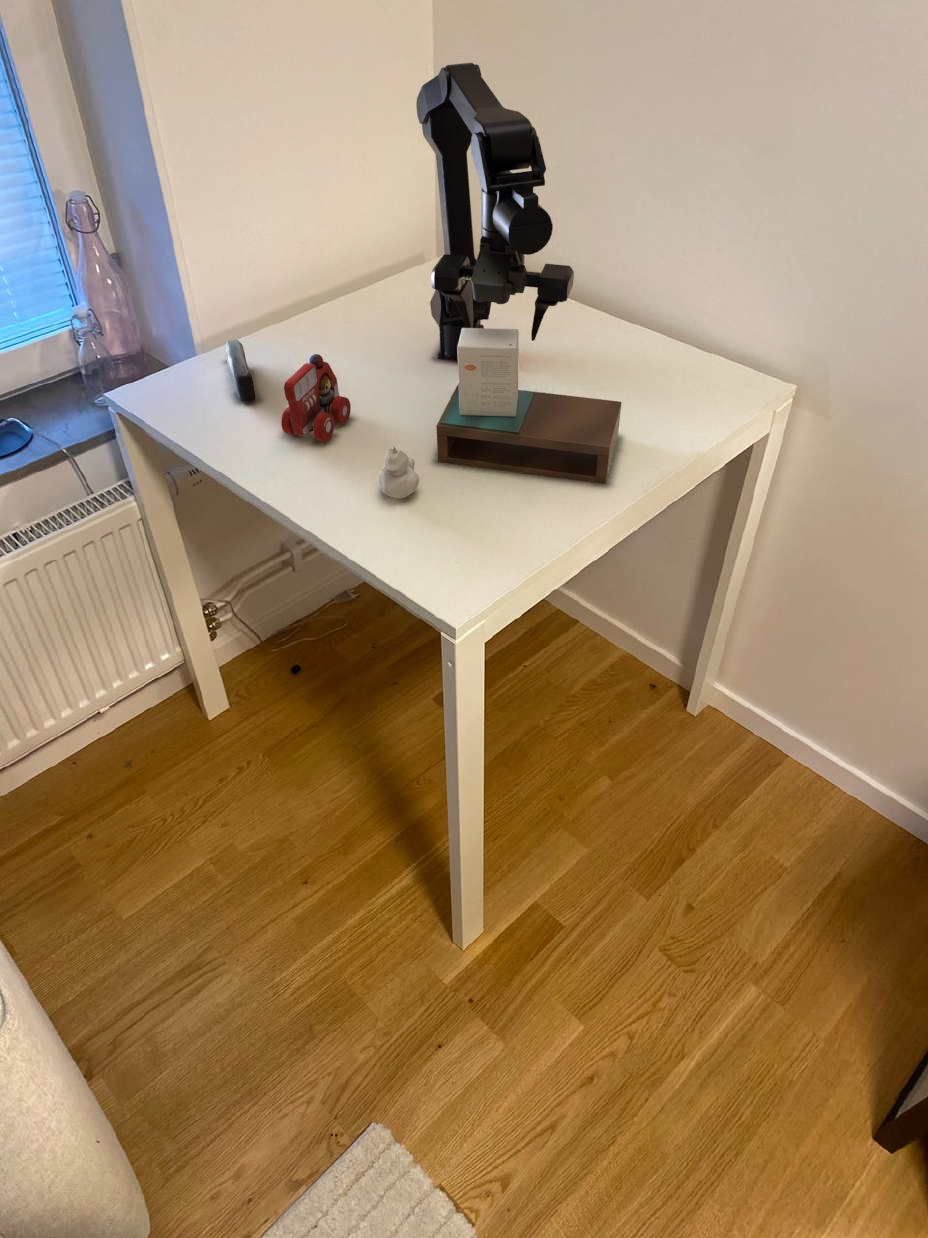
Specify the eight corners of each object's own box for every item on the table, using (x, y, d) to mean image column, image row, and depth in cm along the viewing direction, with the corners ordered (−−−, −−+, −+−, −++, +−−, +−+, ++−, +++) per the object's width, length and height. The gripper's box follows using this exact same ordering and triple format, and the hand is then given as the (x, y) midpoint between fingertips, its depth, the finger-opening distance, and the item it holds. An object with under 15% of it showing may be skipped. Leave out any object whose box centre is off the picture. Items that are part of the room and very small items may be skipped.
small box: (518, 397, 133) (520, 327, 126) (516, 418, 129) (517, 347, 122) (462, 395, 134) (461, 326, 127) (458, 415, 130) (456, 345, 123)
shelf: (437, 461, 133) (436, 424, 129) (459, 418, 141) (458, 381, 137) (605, 484, 128) (610, 445, 124) (617, 437, 137) (621, 400, 132)
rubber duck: (371, 499, 127) (366, 449, 121) (395, 473, 131) (391, 424, 125) (406, 509, 125) (402, 458, 119) (429, 483, 129) (427, 433, 124)
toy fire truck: (358, 410, 143) (351, 347, 136) (318, 452, 135) (309, 388, 128) (318, 402, 145) (309, 339, 138) (277, 443, 137) (265, 379, 130)
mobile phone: (254, 374, 142) (237, 329, 152) (235, 378, 142) (218, 332, 152) (259, 402, 146) (242, 357, 156) (240, 406, 145) (224, 360, 155)
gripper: (417, 242, 118) (422, 355, 129) (562, 255, 115) (555, 370, 125) (440, 210, 126) (444, 319, 137) (577, 221, 122) (570, 332, 133)
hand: (501, 335), depth 133 cm, fingers open, 9 cm apart
